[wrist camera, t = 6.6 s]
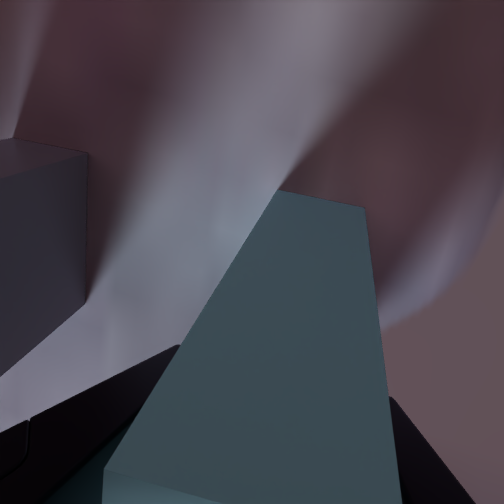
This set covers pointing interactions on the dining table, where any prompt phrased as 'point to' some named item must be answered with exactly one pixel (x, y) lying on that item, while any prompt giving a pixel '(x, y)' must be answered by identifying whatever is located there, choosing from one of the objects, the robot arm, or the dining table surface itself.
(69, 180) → the domino
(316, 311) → the domino
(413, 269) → the dining table surface
